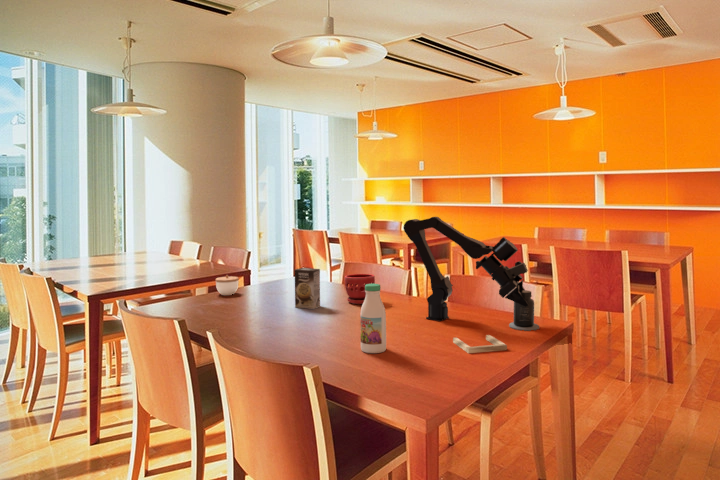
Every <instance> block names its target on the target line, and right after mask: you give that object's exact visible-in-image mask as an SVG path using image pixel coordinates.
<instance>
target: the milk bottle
mask: <svg viewBox="0 0 720 480" xmlns="http://www.w3.org/2000/svg"><path fill="white" fill-rule="evenodd" d="M364 285H365V284H364ZM365 292H366V297H365V300H364V303H363V304H361V308H360V316H359V317H360V320H359V321H360V329H359V330H360V350H361V351H362V352H363V353H366V354H380V353H384V352H385V351H386V349H387V317H386V316H387V315H386V313H387V312H386V308H385V305H384V303H383V301H382V298H381V284H379V283H375V284H372V283H371V284H366V285H365Z"/></svg>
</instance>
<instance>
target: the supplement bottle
mask: <svg viewBox="0 0 720 480" xmlns="http://www.w3.org/2000/svg"><path fill="white" fill-rule="evenodd" d="M519 292H520V293H521V295H522V296H523V297H524V299H525V300H526V302H527V303H528V306H526V307H525V306H523V305H521V304H519V303H516V302H514V301H513V322H514V325H516V326H519V327H532V326H533V325H534V323H535V300H533V299H532V296H533V295H532V291H531V290H526V289H525V290H519Z"/></svg>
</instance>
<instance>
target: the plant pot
mask: <svg viewBox="0 0 720 480" xmlns="http://www.w3.org/2000/svg"><path fill="white" fill-rule="evenodd" d="M375 280H376V279H375V275H374V274H370V273H353V274H347V275H345V276H344V287H345V288H344V289H345V292H346V294H347V296H348V297H347V299H346V300H347V302H348V303H350V304H353V305H354V304H355V305H363V303H364V300H365V297H366V292H365V285H366V284H376V281H375Z"/></svg>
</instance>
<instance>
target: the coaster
mask: <svg viewBox="0 0 720 480" xmlns="http://www.w3.org/2000/svg"><path fill="white" fill-rule="evenodd" d="M508 327H509V328H510V329H513V330H516V331H522V330H524V331H523V332H532V331H531V330H534V331H537V329H538V330H540V325H539V324H537V323H536V322H534V325H533V326H532V327H519V326H516V325H514V321H512V322H510V323H509V324H508Z"/></svg>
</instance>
